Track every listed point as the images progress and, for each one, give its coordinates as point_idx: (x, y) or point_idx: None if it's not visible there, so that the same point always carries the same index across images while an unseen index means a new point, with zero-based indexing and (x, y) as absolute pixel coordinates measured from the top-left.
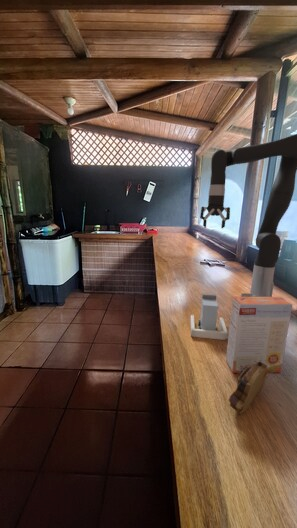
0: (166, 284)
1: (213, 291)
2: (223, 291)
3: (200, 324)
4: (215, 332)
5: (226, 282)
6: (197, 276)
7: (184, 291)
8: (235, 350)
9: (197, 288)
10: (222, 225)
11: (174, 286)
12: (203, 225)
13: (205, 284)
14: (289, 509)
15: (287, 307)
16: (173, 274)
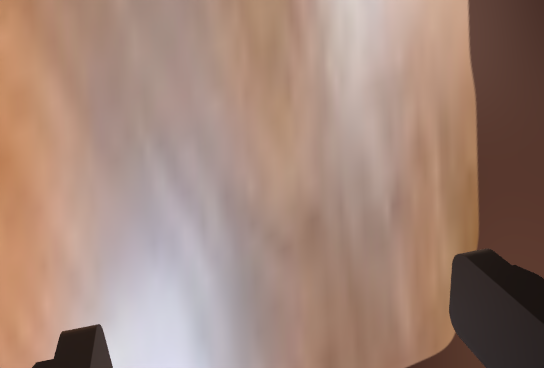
0: (439, 96)
1: (154, 66)
2: (89, 89)
3: None
4: None
5: (82, 270)
6: (267, 309)
7: (332, 5)
8: None
9: (257, 89)
10: (82, 366)
11: (393, 77)
12: (533, 275)
13: (212, 182)
14: None
15: None
16: (406, 288)
